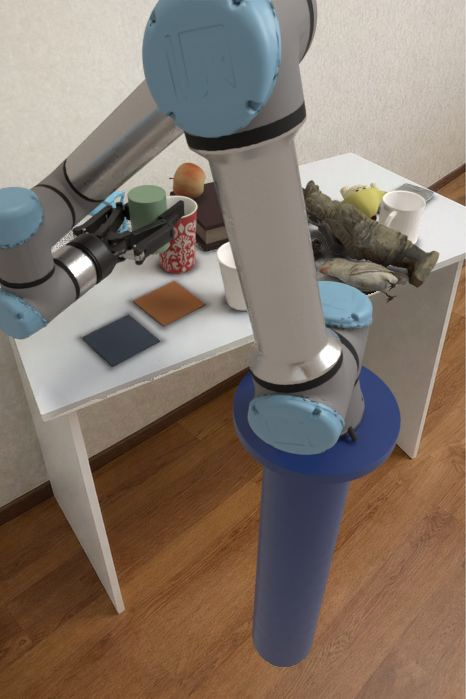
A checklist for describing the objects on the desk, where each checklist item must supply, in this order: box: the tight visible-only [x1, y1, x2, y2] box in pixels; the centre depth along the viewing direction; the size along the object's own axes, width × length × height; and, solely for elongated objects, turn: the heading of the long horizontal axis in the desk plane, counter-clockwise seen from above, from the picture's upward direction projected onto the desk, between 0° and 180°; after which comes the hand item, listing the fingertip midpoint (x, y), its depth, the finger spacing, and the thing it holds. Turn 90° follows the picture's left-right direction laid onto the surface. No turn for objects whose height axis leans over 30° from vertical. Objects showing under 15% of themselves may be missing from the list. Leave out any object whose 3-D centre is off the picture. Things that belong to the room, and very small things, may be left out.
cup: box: [215, 242, 247, 311], centre depth 111 cm, size 10×10×11 cm
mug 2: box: [378, 190, 427, 245], centre depth 128 cm, size 12×9×9 cm
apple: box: [168, 162, 206, 199], centre depth 130 cm, size 8×8×8 cm
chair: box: [87, 190, 129, 233], centre depth 128 cm, size 8×8×12 cm
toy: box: [339, 182, 389, 221], centre depth 137 cm, size 13×7×15 cm
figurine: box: [311, 237, 323, 260], centre depth 125 cm, size 5×8×4 cm
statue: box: [304, 179, 440, 288], centre depth 119 cm, size 11×9×30 cm
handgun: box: [304, 200, 348, 258], centre depth 127 cm, size 3×19×12 cm
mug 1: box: [158, 195, 198, 274], centre depth 121 cm, size 13×9×14 cm
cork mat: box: [132, 280, 206, 327], centre depth 114 cm, size 10×10×1 cm
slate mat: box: [82, 313, 161, 367], centre depth 106 cm, size 10×10×1 cm
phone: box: [377, 182, 435, 214], centre depth 144 cm, size 8×16×1 cm, turn 140°
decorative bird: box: [319, 257, 409, 304], centre depth 117 cm, size 5×16×7 cm
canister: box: [127, 184, 170, 256], centre depth 102 cm, size 6×6×10 cm
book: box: [169, 181, 310, 252], centre depth 137 cm, size 28×20×6 cm
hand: (165, 202), depth 104 cm, fingers closed on canister, 6 cm apart
